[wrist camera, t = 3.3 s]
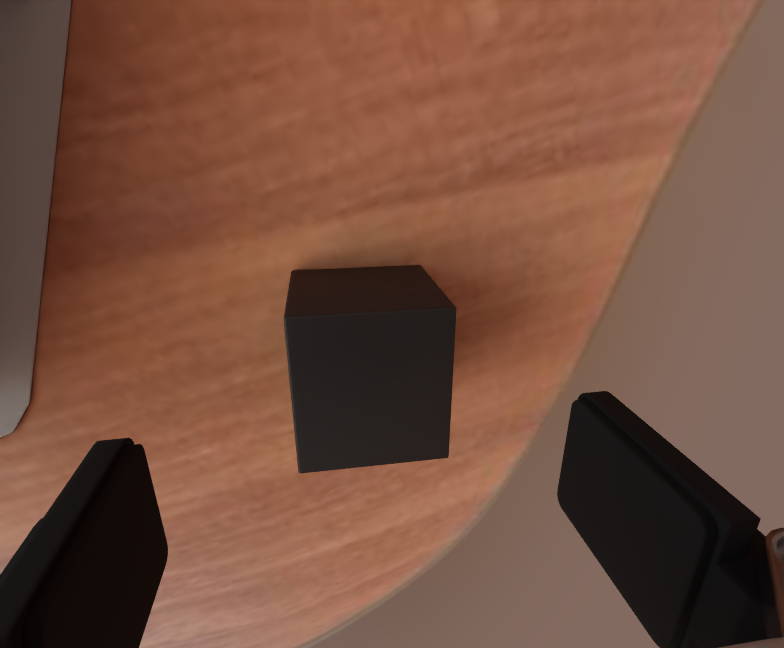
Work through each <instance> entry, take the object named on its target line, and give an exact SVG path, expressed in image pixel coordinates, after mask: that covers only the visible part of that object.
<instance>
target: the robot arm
mask: <svg viewBox="0 0 784 648" xmlns="http://www.w3.org/2000/svg"><path fill="white" fill-rule="evenodd" d="M557 495H558V501H559V504H560V506H561V508H562V510H563V511H564V512H565V514H566V515H567V517H568V518H569V520H570V521H571V522H572V524H573V525H574V527H575V528H576V530H577V531H578V533H579V534H580V536H581V537H582V538H583V540H584V541H585V543H586V544H587V546H588V547H589V548H590V550H591V551H592V553H593V554H594V556H595V557H596V559H597V560H598V561H599V563H600V564H601V566H602V567H603V569H604V570H605V572H606V573H607V574H608V576H609V577H610V579H611V580H612V582H613V583H614V584H615V586H616V587H617V589H618V590H619V592H620V593H621V594H622V596H623V598H624V599H625V600H626V602H627V603H628V605H629V606H630V608H631V609H632V611H633V612H634V613H635V615H636V616H637V618H638V619H639V621H640V622H641V624H642V625H643V626H644V628H645V629H646V631H647V632H648V634H649V635H650V636H651V638H652V639H653V641H654V642H655V643H656V644H657V645H658V646H659V647H660V648H784V528H779V529H776V530H772V531H771V532H770V533H769V534H768V535H767V536H764V535H763V534H762V533H761V532H760V531H759V530H757V527H758V524H759V522H760V518H759V517H758V516H757V515H755V514H754V513H753V512H752V511H751V510H749V509H748V508H747V507H746V506H745V505H743V504H742V503H741V502H740V501H739V500H737V499H736V498H735V497H734V496H733V495H732V494H730V493H729V492H728V491H727V490H726V489H724V488H723V487H722V486H721V485H719V484H718V483H717V482H716V481H715V480H714V479H712V478H711V477H710V476H709V475H708V474H706V473H705V472H704V471H703V470H702V469H700V468H699V467H698V466H697V465H696V464H694V463H693V462H692V461H691V460H690V459H688V458H687V457H686V456H685V455H684V454H683V453H681V452H680V451H679V450H678V449H677V448H675V447H674V446H673V445H672V444H671V443H669V442H668V441H667V440H666V439H664V438H663V437H662V436H661V435H660V434H659V433H657V432H656V431H655V430H654V429H653V428H651V427H650V426H649V425H648V424H647V423H645V422H644V421H643V420H642V419H641V418H639V417H638V416H637V415H636V414H635V413H633V412H632V411H631V410H630V409H629V408H627V407H626V406H625V405H624V404H623V403H621V402H620V401H619V400H618V399H617V398H616V397H614V396H613V395H612V394H611V393H609V392H607V391H601V392H591V393H583V394H581V395H580V396H579V397H578V400H576V401H574V402H573V403H572V407H571V413H570V419H569V425H568V431H567V437H566V443H565V449H564V455H563V461H562V467H561V473H560V479H559V485H558V492H557ZM167 556H168V546H167V540H166V536H165V532H164V528H163V524H162V520H161V516H160V512H159V508H158V504H157V500H156V496H155V492H154V487H153V483H152V479H151V475H150V471H149V467H148V463H147V459H146V455H145V451H144V448H143V446H142V445H141V444H136V445H134V442H133V441H132V439H130V438H123V439H112V440H102V441H97V442H96V443H95V444H94V445H93V447H92V448H91V449H90V451H89V452H88V454H87V455H86V457H85V458H84V460H83V461H82V463H81V464H80V465H79V467H78V468H77V470H76V471H75V473H74V474H73V476H72V477H71V479H70V480H69V481H68V483H67V484H66V486H65V487H64V489H63V490H62V492H61V493H60V495H59V496H58V497H57V499H56V500H55V502H54V503H53V505H52V506H51V508H50V509H49V511H48V512H47V513H46V515H45V516H44V518H42V519H40V520H39V521H38V523H37V524H36V525H35V526H34V527H33V529H32V530H31V532H30V533H29V534H28V536H27V537H26V539H25V540H24V542H23V543H22V544H21V546H20V547H19V549H18V550H17V552H16V553H15V554H14V556H13V557H12V559H11V560H10V562H9V563H8V565H7V566H6V567H5V569H4V570H3V572H2V573H1V575H0V648H139V645H140V642H141V639H142V636H143V633H144V630H145V627H146V624H147V621H148V618H149V615H150V612H151V609H152V605H153V602H154V599H155V596H156V593H157V590H158V587H159V584H160V581H161V578H162V575H163V572H164V569H165V566H166V562H167Z"/></svg>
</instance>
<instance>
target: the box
mask: <svg viewBox="0 0 784 648" xmlns="http://www.w3.org/2000/svg"><path fill="white" fill-rule="evenodd" d="M455 324H456V307H455V306H454V305H453V303H452V302H451V301H450V300H449V299H448V297H447V296H446V295H445V294H444V293H443V291H442V290H441V289H440V288H439V287H438V286H437V284H436V283H435V282H434V281H433V280H432V278H431V277H430V276H429V275H428V274H427V272H426V271H425V270H424V269H423V268H422V267H421V265H409V266H386V267H363V268H340V269H317V270H293V271H292V272H291V277H290V283H289V289H288V295H287V302H286V308H285V314H284V327H285V337H286V347H287V358H288V368H289V379H290V389H291V399H292V410H293V420H294V430H295V441H296V451H297V462H298V471H299V473H309V472H318V471H327V470H337V469H346V468H356V467H365V466H375V465H384V464H394V463H403V462H413V461H422V460H432V459H441V458H448V456H449V437H450V418H451V400H452V381H453V362H454V343H455Z"/></svg>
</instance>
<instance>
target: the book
mask: <svg viewBox="0 0 784 648" xmlns="http://www.w3.org/2000/svg"><path fill="white" fill-rule="evenodd" d="M71 1H72V0H0V438H1V437H3V436H6V435H8V434H10V433H12V432H14V430H15V428H16V426H17V425H18V423H19V421H20V419H21V417H22V416H23V414H24V412H25V410H26V408H27V407H28V405H29V403H30V395H31V386H32V376H33V366H34V357H35V347H36V338H37V328H38V318H39V309H40V299H41V289H42V280H43V270H44V261H45V251H46V241H47V232H48V222H49V213H50V203H51V193H52V184H53V174H54V165H55V155H56V145H57V136H58V126H59V117H60V107H61V97H62V88H63V78H64V69H65V59H66V49H67V40H68V30H69V21H70V11H71Z"/></svg>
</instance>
